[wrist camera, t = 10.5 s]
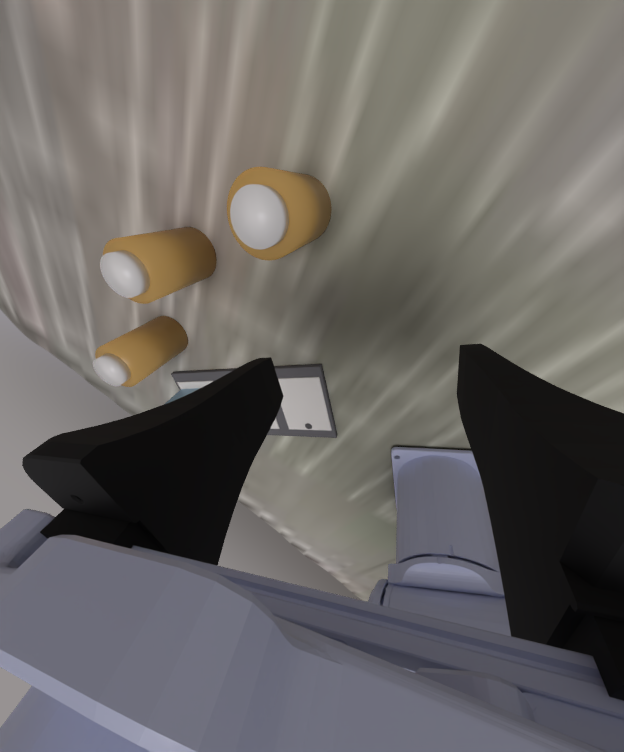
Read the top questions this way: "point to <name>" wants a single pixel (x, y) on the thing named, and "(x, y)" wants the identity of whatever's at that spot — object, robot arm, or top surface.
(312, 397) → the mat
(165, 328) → the bottle
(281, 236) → the bottle
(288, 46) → the top surface
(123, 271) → the bottle
